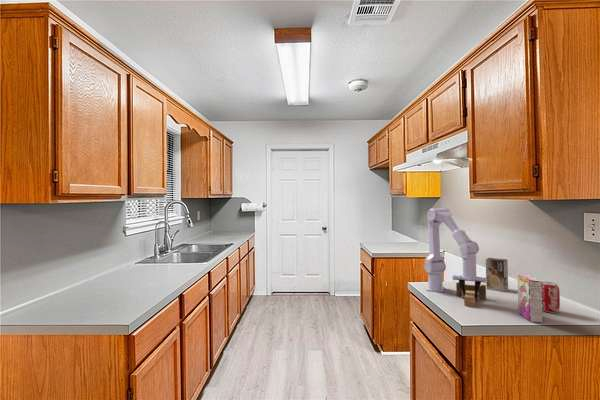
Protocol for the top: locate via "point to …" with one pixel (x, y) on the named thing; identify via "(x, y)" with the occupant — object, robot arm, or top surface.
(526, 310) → the candy bar box
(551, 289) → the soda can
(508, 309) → the top surface
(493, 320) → the top surface
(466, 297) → the tan wooden bar
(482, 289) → the wooden base
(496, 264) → the coffee box
